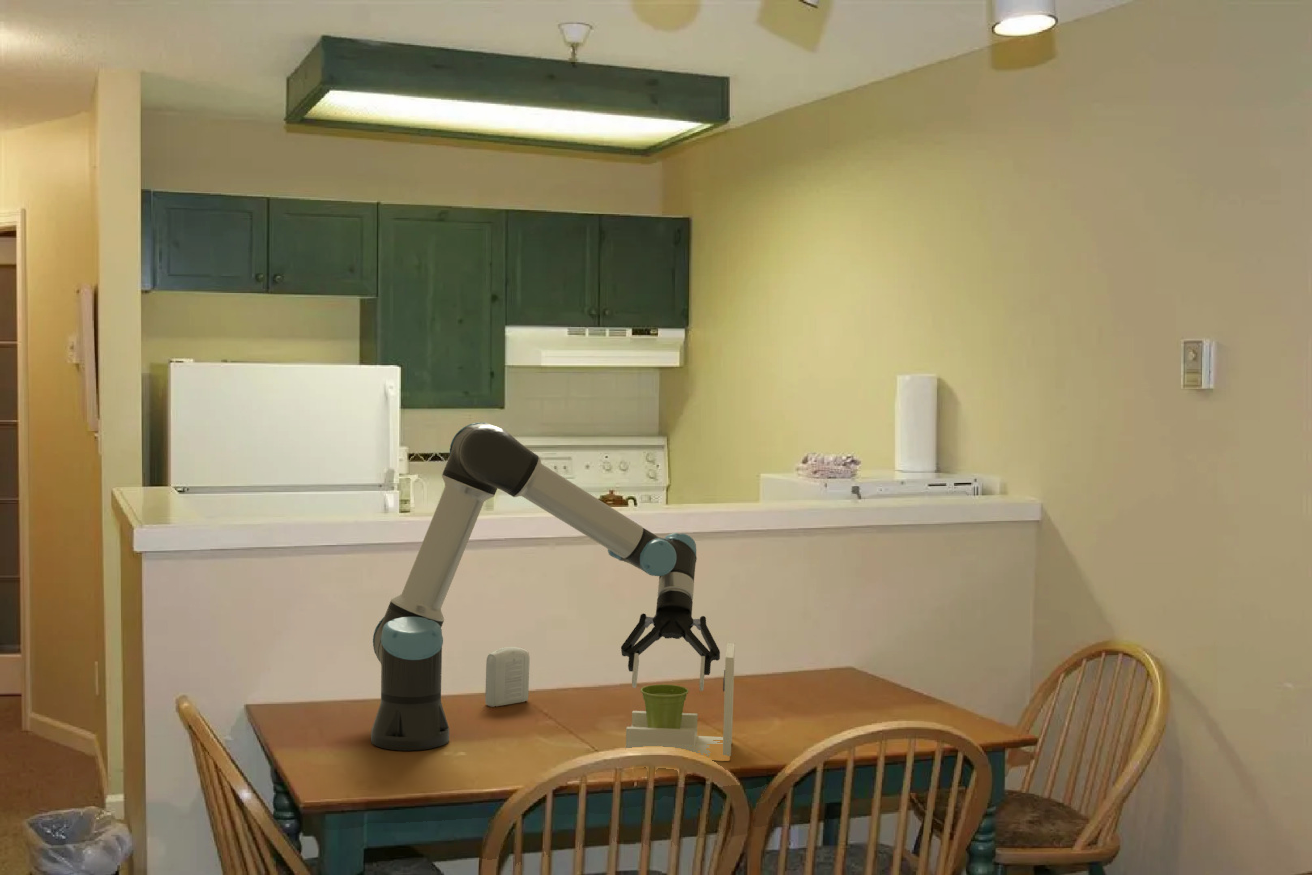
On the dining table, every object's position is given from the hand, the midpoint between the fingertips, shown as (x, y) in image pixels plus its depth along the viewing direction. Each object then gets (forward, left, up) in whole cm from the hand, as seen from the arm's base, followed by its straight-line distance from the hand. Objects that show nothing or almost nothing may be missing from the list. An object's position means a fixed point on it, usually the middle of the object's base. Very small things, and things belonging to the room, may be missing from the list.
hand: (667, 685), depth 283 cm
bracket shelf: (-2, -9, -11) cm, 14 cm away
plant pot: (-5, -7, -8) cm, 11 cm away
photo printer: (-17, +39, -11) cm, 44 cm away
